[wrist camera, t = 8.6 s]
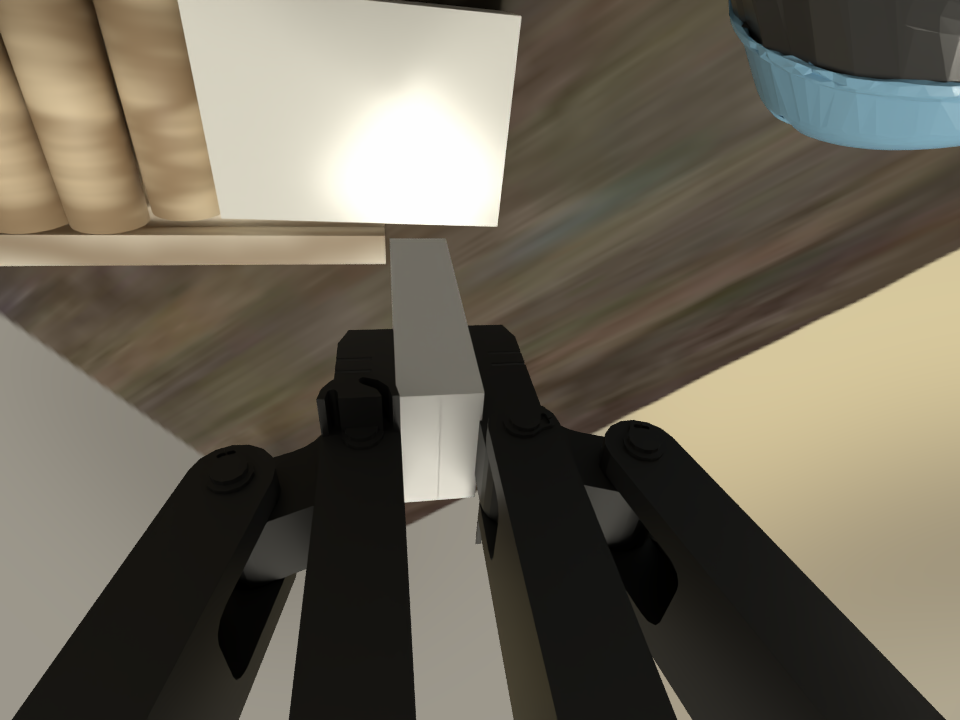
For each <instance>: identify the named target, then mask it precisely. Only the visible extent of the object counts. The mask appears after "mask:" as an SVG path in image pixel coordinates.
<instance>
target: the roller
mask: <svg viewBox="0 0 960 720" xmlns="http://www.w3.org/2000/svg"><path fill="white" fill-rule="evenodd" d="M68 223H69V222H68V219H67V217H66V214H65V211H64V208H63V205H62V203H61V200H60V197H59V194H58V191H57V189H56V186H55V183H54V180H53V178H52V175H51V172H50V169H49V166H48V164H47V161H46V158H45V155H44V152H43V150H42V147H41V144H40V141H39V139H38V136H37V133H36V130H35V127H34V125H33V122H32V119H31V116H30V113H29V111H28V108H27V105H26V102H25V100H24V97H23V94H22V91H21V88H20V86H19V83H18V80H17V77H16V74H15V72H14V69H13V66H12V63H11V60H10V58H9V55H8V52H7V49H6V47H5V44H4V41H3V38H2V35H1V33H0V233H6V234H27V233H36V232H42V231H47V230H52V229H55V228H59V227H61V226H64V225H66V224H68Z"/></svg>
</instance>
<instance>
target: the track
mask: <svg viewBox="0 0 960 720" xmlns="http://www.w3.org/2000/svg"><path fill="white" fill-rule="evenodd" d="M94 7H95V6H94ZM96 14H97V13H96ZM97 18H98V17H97ZM98 22H99V21H98ZM99 26H100V24H99ZM100 29H101V28H100ZM101 33H102V31H101ZM102 37H103V35H102ZM103 41H104V39H103ZM104 44H105V42H104ZM105 48H106V46H105ZM106 52H107V49H106ZM107 56H108V53H107ZM108 60H109V56H108ZM109 63H110V60H109ZM110 67H111V64H110ZM111 71H112V67H111ZM112 75H113V79H114V82H115V86H116V90H117V94H118V98H119V101H120V105H121V109H122V113H123V116H124V120H125V124H126V128H127V132H128V135H129V139H130V143H131V147H132V151H133V154H134V158H135V162H136V166H137V170H138V173H139V177H140V181H141V185H142V188H143V192H144V196H145V200H146V204H147V207H148V211H149V215H150V221H149V222H148V223H147V224H146V225H144V226H142V227H140V228H138V229H135V230H131V231H127V232H122V233H115V234H88V233H82V232H78V231H76V230H74V229H72V228H71V227H70V225H69V223H68V224H66V225H64V226H61V227H59V228H55V229H52V230H47V231H42V232H36V233H27V234H6V233H0V266H83V265H262V264H386V250H385V224H384V223H359V222H325V221H290V220H256V219H222V218H221V214H220V215H218V216H215V217H212V218H208V219H203V220H195V221H172V220H166V219H162V218H159V217H157V216H155V215H154V214H153V213H152V210H151V207H150V203H149V200H148V196H147V192H146V189H145V185H144V182H143V178H142V174H141V171H140V167H139V164H138V160H137V157H136V153H135V149H134V146H133V142H132V139H131V135H130V132H129V128H128V124H127V121H126V117H125V114H124V110H123V106H122V103H121V99H120V96H119V92H118V89H117V85H116V81H115V78H114V74H113V71H112Z"/></svg>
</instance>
